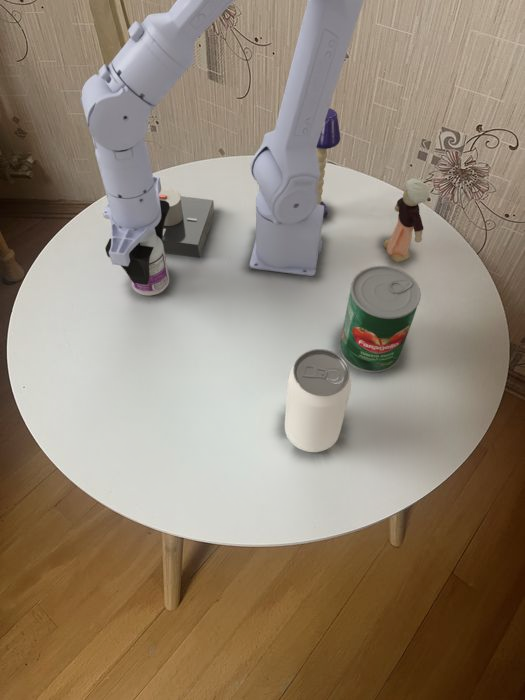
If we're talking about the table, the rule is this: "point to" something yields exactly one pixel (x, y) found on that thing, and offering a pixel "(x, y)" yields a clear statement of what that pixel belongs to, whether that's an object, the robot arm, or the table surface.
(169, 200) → the hob knob
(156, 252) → the pill bottle
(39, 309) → the table surface
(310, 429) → the can
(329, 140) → the toy lamp
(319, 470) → the table surface
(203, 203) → the knob base
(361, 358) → the canned tomato
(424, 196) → the grandmother figurine
